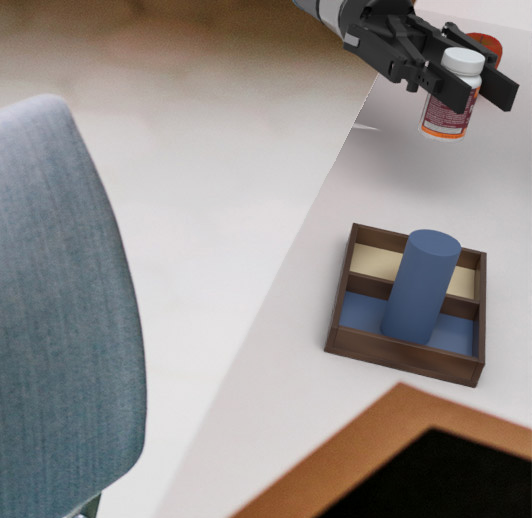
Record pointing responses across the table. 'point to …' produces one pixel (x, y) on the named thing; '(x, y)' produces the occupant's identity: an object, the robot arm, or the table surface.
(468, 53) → the pill bottle
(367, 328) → the sorting tray
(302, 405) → the table surface
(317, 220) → the table surface
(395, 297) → the blue cylinder
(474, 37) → the apple
